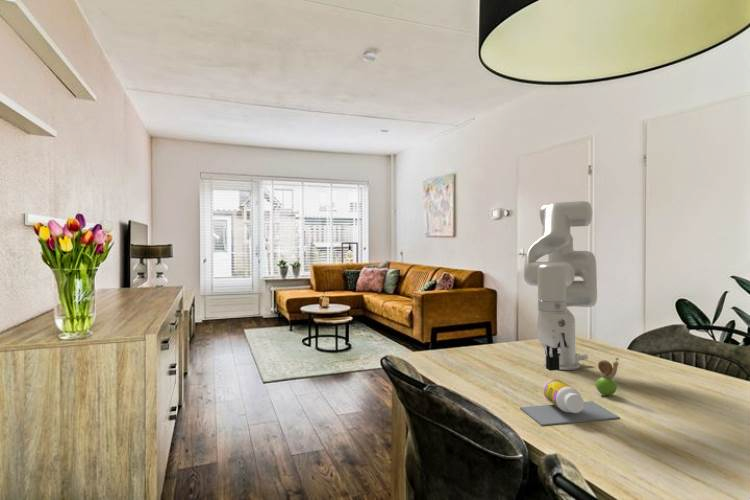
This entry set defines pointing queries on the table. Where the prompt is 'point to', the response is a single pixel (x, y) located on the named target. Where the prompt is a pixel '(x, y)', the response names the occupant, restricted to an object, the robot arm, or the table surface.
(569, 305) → the robot arm
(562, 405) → the supplement bottle
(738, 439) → the table surface
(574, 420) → the mat
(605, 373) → the snail figurine
